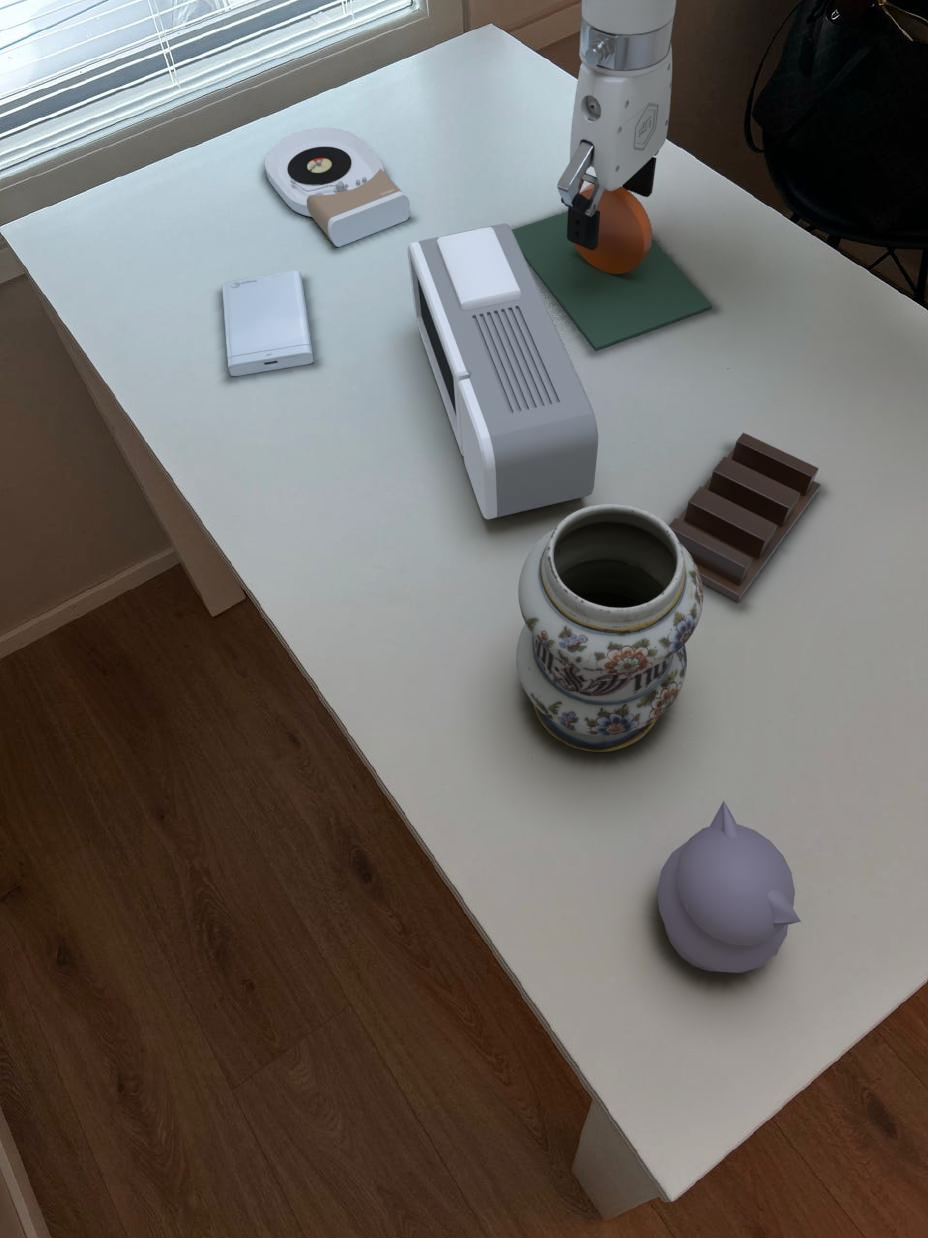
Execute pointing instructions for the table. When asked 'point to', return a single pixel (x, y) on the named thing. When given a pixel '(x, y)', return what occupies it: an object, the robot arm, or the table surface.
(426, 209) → the table surface
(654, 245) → the mat
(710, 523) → the rack
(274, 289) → the hard drive
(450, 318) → the alarm clock
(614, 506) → the apothecary jar
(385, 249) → the table surface
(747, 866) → the cat figurine
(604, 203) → the disc
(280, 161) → the record player
